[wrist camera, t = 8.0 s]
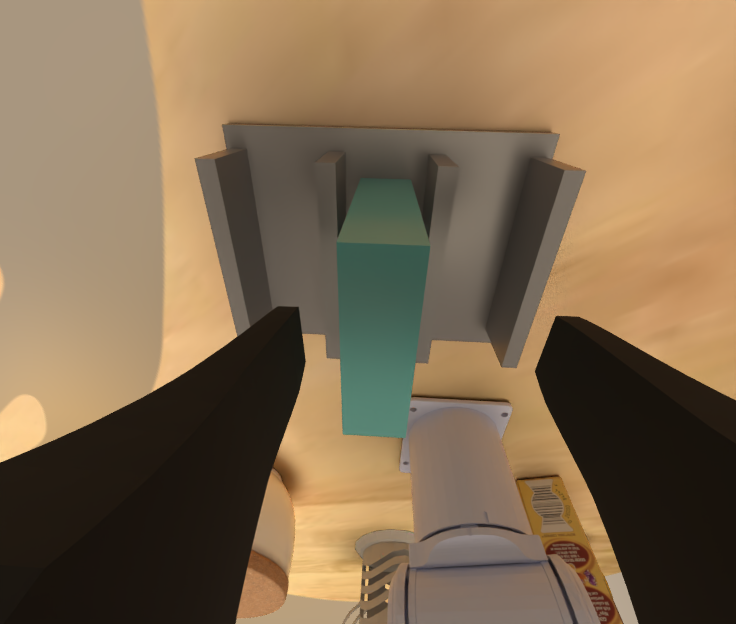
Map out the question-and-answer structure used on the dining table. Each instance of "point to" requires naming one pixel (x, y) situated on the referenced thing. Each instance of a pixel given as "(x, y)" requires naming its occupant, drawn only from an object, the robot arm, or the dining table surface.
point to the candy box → (566, 538)
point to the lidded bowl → (270, 553)
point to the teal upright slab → (380, 305)
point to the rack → (438, 209)
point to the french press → (379, 570)
